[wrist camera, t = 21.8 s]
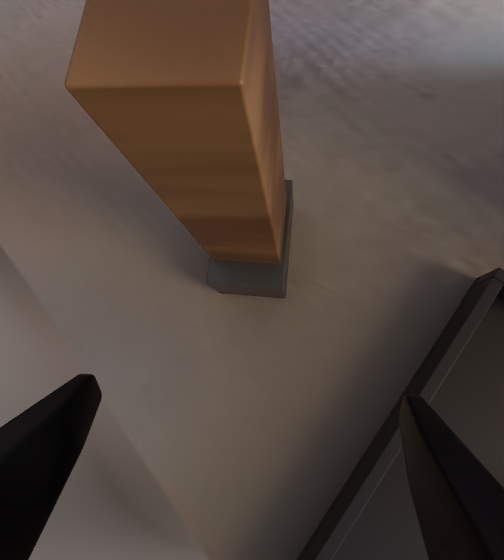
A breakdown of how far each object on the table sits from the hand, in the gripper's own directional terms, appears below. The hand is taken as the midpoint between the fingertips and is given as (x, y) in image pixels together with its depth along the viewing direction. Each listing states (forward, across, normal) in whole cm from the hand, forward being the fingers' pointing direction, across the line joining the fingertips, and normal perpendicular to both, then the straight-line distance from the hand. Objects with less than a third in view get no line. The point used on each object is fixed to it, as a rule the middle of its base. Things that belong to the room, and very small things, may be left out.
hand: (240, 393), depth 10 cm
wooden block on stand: (+12, +1, +1) cm, 13 cm away
